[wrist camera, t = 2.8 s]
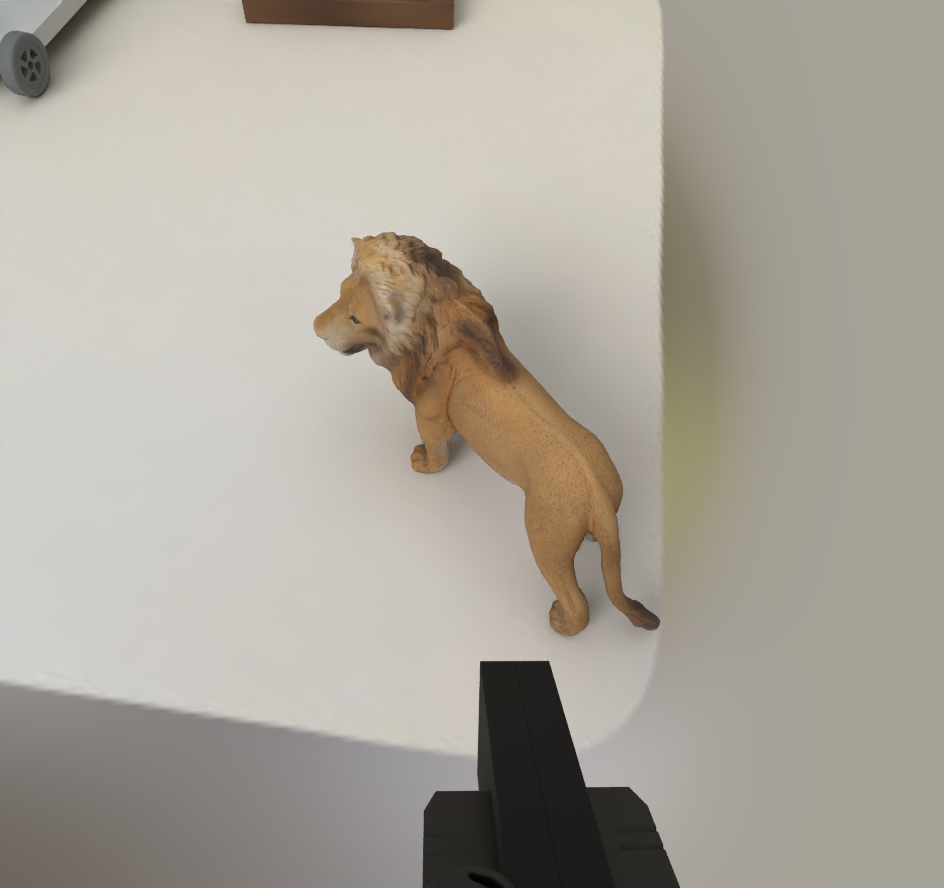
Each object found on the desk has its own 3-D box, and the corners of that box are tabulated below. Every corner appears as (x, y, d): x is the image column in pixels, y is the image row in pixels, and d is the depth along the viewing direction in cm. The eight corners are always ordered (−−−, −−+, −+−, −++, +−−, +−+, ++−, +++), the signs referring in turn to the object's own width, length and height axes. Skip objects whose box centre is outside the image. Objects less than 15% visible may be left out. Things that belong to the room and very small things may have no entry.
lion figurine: (317, 425, 31) (279, 258, 24) (413, 350, 33) (407, 176, 26) (609, 685, 26) (681, 581, 19) (700, 578, 28) (798, 445, 21)
